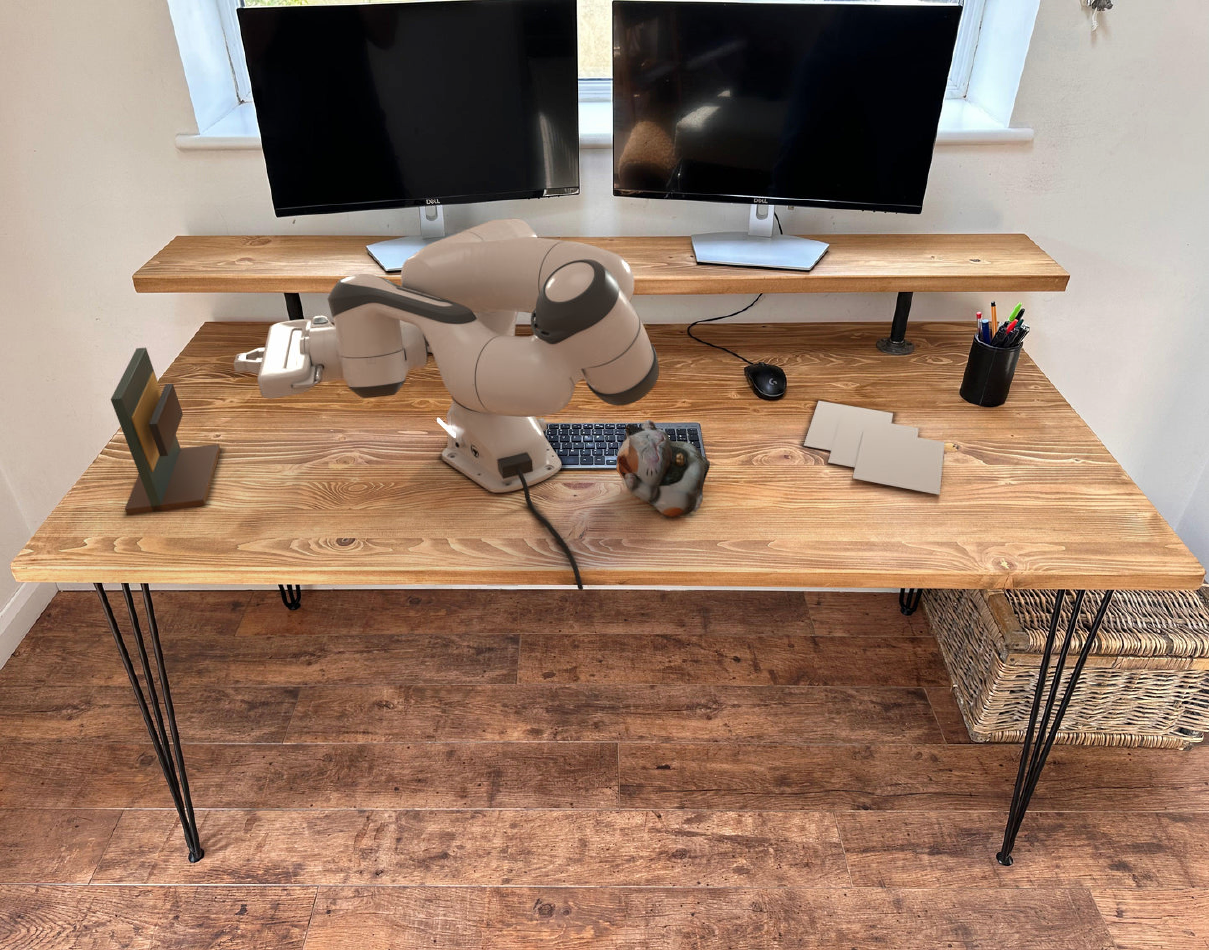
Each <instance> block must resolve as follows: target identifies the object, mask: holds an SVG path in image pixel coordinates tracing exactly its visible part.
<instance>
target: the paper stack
mask: <svg viewBox="0 0 1209 950" xmlns="http://www.w3.org/2000/svg"><path fill="white" fill-rule="evenodd" d="M893 416H894V413H893V412H890V411H889V412H888V411H882V410H876V409H870V408H864V407H860V406H854V405H853V406H852V405H847V404H841V403H836V402H835V403H834V402H828V401H823V400H818V401H817V404H816V407H815V410H814V413H813V416H812V419H811V422H810V425H809V428H808V431H807V434H806V437H805V440H804V442H803V443H804V444H803V446H804V447H809V448H815V449H820V450H826V451H830V454H829V457H828V461H827V463H829V464H834V465H840V466H845V467H851V468H854V470H853V474H852V479H855V480H859V481H865V482H871V483H876V484H881V485H886V486H892V487H897V488H903V489H908V490H913V491H917V492H923V493H929V494H932V495H933V494H934V495H939V496H940V495H941V487H942V474H943V464H944V456H945V455H944V454H945V444H946V443H945V441H941V440H935V439H930V438H924V437H919V430H920V428H919V427H914V426H909V425H902V424H897V423H893Z"/></svg>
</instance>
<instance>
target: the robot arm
mask: <svg viewBox="0 0 1209 950" xmlns="http://www.w3.org/2000/svg"><path fill="white" fill-rule="evenodd" d="M634 292H635V277H634V273H633V270H632V268H631V266H630V263H628V261H627V260H626V259H625V258H624V257H622V256H621V255H619V254H618V253H615V252H613V251H611V250H607V249H605V248H601V247H600V246H596V245H593V244H588V243H583V242H577V241H571V240H562V239H555V238H547V237H539V236H538V235H537V234H536V231H534V229H533V228H532V227H531V226H530V225H529V223H527V222H526V221H524V220H523V219H521V218H514V217H513V218H510V217H509V218H501V219H500V218H499V219H492V220H488V221H485V222H482V223H480V224H477V225H475V226H472V227H471V228H467V229H464V230H462V231H459V232H458V233H454V234H452V235H449V236H446V237H444V238H441V239H439V240H436V241H433V242H430V243H429V244H426V245H425V246H423V247H422V248H421V249H419V250H418V251H415V253H414V254H412V255H411V256H409V257H408V258H406V260H405V261H404V263H403V264H402V267H401V272H400V285H399V284H397V283H395V282H393V281H390V280H389V279H387V278H385V277H382V276H378V275H375V274H367V273H365V274H364V273H362V274H361V273H360V274H352V275H348V276H346V277H342V278H340V279H339V280H338V281H337V282H336V284H335V285H334V286H333V288H332V289H331V291H330V293H329V295H328V297H327V302H328V307H329V311H330V314H331V318H332V319H333V323H332V322H331V320H329V318H328V317H327V316H326V315H315V316H313V318H312V319H307V318H303V319H294V320H287V321H281V322H277V323H274V324H272V325H270V326H269V328H268V332H267V337H266V342H265V346H264V347H257V348H255V349H253V350H250V351H248V352H243V353H237V354H235V357H234V361H233V367H234V371H235V372H236V373H244V372H247V373H252V374H255V375H257V384H258V388H259V392H260V395H261V397H262V398H263V399H267V400H268V399H269V400H274V399H280V398H287V397H292V396H296V395H302V394H305V393H307V392H309V391H311V390H312V388H314V387H315V386H316V385H318V384H321V383H329V382H330V383H331V382H338V381H339V382H340V381H345V384H346V386H347V388H348V389H349V390H350V391H351V392H353V393H354V394H355V395H357V396H359V397H360V398H362V399H371V398H382V397H390V396H395V395H396V394H397V393H398V392H399V391H400V390H401V388H402V387H403V386H404V384H405V383H406V381H407V375H409V374H410V373H411V372H414V371H419V370H421V369H424V368H426V366H427V364H428V360H429V358H428V357H429V352H428V350H427V343H426V339H427V341H428V343H429V345H430V348H431V350H432V352H431V353H432V355H433V357H434V360H435V364H436V366H437V370H438V372H439V375H440V378H441V380H442V383H443V386H444V387H445V388H446V390H447V392H448V393H449V394H450V397H451V399H452V401H451V404H450V407H449V409H448V411H447V412H446V414H445V415H446V416H445V419H446V423H445V422H444V421H443V420H442V419H441V418H440V417H437V418H436V421H437V423H438V424H439V425H440V426H441V427H442V428H443V429H445V430H446V439H447V440H446V442H447V446H446V448H444V450H443V451H442V452H441V460H442V461H444V462H445V463H446V464H448V465H449V466H451V467H452V468H454V469H455V470H457V471H459V472H460V473H462V474H463V475H464V476H466V477H468V478H469V479H471V480H472V481H473V482H475V483H477V484H478V485H479V486H481V487H483V488H484V489H485V490H487V491H489V492H491V493H507V492H514V491H519V490H521V489H523V493H524V498H525V502H526V505H527V507H528V508H529V510H530V511H531V513H532V514H533V515H534V516H535V517H536V519H537V520H539V522H541V523H542V524H543V525H544V526H545V527H546V529H547V530H548V531H549V532H550V534H551V535H552V536H553V537H554V538H555V540H556V541H557V543H558V544H559V546H560V547H561V549H562V550H563V552H564V553H565V555H566V557H567V559H568V561H569V563H570V566H571V567H572V570H573V574H574V578H575V582H576V586H577V589H578V590H579V591H583V590H584V584H583V582H582V577H581V573H580V570H579V567H578V564H577V562H576V560H575V557H574V556H573V554H572V551H571V550H570V548H569V547H568V545H567V543H566V542H565V540H564V539H563V538H562V537H561V535H560V534H559V533H558V531H557V530H556V529H555V528H554V527H553V525H552V524H551V523H550V522H549V521H548V520H547V518H545V517H544V516H543V515H542V514H541V513H539V511H538V510H537V509H536V508H535V506H534V504H533V502H532V500H531V495H530V490H529V487H531V486H534V485H536V484H538V483H541V482H543V481H545V480H547V479H549V478H551V477H553V476H554V475H556V474H557V473H558V472H560V470H561V469H562V467H563V466H562V464H563V463H562V461H561V459H560V457H559V456H558V454H557V453H556V452H555V450H554V449H553V447H552V446H551V444H550V442H549V441H548V439H547V438H546V435H545V431H547V430H548V424H547V421H546V419H545V418H544V417H543V416H545V417H546V416H551V415H554V414H557V413H559V412H561V411H562V410H563V409H565V408H566V406H567V405H569V403H570V401H571V400H572V398H573V396H574V393H575V391H576V390H575V389H576V385H577V384H578V383H579V382H580V381H581V380H584V382H585V383H586V386H587V387H588V389H589V390H590V391H591V392H592V393H593V394H594V395H595V396H596V397H597V398H598V399H600V400H601V401H603V402H604V403H606V404H608V405H612V406H618V407H619V406H621V407H622V406H628V405H630V404H634V403H636V402H638V401H640V400H641V399H643V398H644V397H646V396H647V395H648V394H649V393H650V392H651V391H652V390H653V388H655V386H656V383H657V381H658V380H659V376H660V375H659V374H660V366H659V359H658V355H657V352H656V351H657V350H656V349H655V347H654V345H653V343H652V342H651V340H650V339H649V335H648V333H647V330H646V329H645V325H644V324H643V321H642V319H641V318H640V315H639V314H638V312H637V311H635V309H634V307H633V305H632V303H631V302H632V299H633V296H634ZM519 313H528V314H530V327H531V331H532V333H533V335H530V336H517V335H516V325H517V319H518V314H519ZM537 417H538V418H537Z"/></svg>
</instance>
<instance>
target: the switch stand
mask: <svg viewBox="0 0 1209 950" xmlns="http://www.w3.org/2000/svg"><path fill="white" fill-rule="evenodd" d="M161 394H162V390H161V387H160V384H159V381H158V379H157V376H156V373H155V370H154V366H153V363H152V361H151V357H150V354H149V352H148V349H147V347H137V348H136V349H135V351H134V352H133V354H132V357H131V359H130V360H129V362H128V365H127V366H126V368H125V370H124V372H123V374H122V376H121V378H120V380H119V382H118V384H117V386H116V388H115V390H114V392H113V393H112V396H111V398H110V402H111V404H112V406H113V409H114V412H115V415H116V418H117V420H118V423H119V425H120V428H121V431H122V433H123V436H124V439H125V441H126V443H127V446H128V449H129V451H130V454H131V457H132V460H133V462H134V464H135V467H136V470H137V472H138V475H137V478H136V480H135V482H134V485H133V488H132V490H131V492H130V495H129V498H128V500H127V503H126V506H125V508H124V511H125V513H126V515H127V516H130V515H137V514H139V515H140V514H145V513H146V514H147V513H155V512H163V511H172V510H178V509H188V508H194V507H195V508H196V507H204V506H206V503H207V500H208V496H209V492H210V489H211V487H212V483H213V479H214V476H215V472H216V467H217V464H218V461H219V458H220V454H221V450H222V449H221V446H220V444H219V443H217V444H208V445H199V446H198V445H197V446H191V447H181V445H180V442H179V440H178V437H177V434H176V435H175V438H174V440H173V443H172V446H171V449H170V451H169V454H168V456H160V455H159V452H158V449H157V446H156V444H155V441H154V438H153V435H152V432H151V430H150V427H149V423H150V420H151V418H152V415H153V413H154V411H155V408H156V406H157V403H158V401H159V399H160V396H161Z"/></svg>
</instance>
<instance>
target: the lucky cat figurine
mask: <svg viewBox="0 0 1209 950" xmlns="http://www.w3.org/2000/svg"><path fill="white" fill-rule="evenodd" d="M624 428H625V432H624V438H623V442H622V445H621V446H620V447H619V449H618V451H617V452H616V453H617V454H616V455H617V457H616V466H615V467H616V472H617V474H618V475H619V477H620V479H621V483H622V486H623V487H624V488H625V489H627V490H628V491H629V493H631V494H632V495H633V496H635V497H637V498H639V499H640V500H642V501H644V502H645V503H648V504H649V505H652V506H653V507H654V508H656V509H657V511H659V512H660V513H661V514H662V515H663V516H666V517H669V518H677V517H680V516H685V515H689V514H690V513H692V512H694V513H696V512H697V511H698V510H699V509H700V507H701V505H702V502H703V500H704V492H703V489H704V484H705V482H706V478H707V476H708V473H709V470H710V465H711V462H710V460H709V459H708V458H707V457H705V456H703V455H702V453H701V452H700V450H699V449H698V447H696V446H695V445H694V444H692V443H689V442H687V441H673V440H671V439H670V436H669V434H668V433H667V432H666V431H665V430H663V429H661V428H658V427H656V424H655V422H654V421H653V420H651V419H646V420H645V422H644V423H643V424H642V425H641V427H639V426H636V425H634V424H632V423H631V424H630V423H629V424H626V426H625V427H624Z"/></svg>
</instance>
